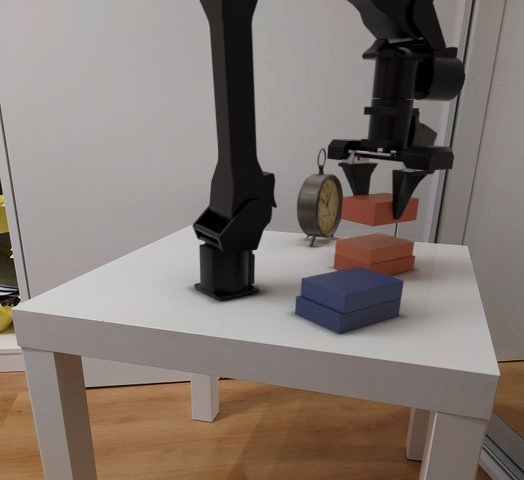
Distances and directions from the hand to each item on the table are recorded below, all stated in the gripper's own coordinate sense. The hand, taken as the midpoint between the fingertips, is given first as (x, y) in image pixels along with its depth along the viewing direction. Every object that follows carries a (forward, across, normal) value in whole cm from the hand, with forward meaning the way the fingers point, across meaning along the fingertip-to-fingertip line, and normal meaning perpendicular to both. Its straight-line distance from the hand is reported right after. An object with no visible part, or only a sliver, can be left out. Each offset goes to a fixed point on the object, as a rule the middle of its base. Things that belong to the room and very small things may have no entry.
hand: (379, 215), depth 78 cm
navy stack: (+8, -12, +18) cm, 23 cm away
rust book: (+1, 0, 0) cm, 1 cm away
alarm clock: (+8, +18, -5) cm, 21 cm away
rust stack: (+8, 0, 0) cm, 8 cm away
